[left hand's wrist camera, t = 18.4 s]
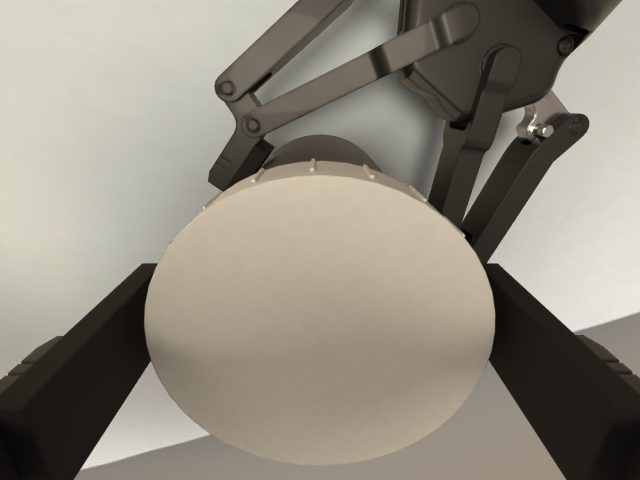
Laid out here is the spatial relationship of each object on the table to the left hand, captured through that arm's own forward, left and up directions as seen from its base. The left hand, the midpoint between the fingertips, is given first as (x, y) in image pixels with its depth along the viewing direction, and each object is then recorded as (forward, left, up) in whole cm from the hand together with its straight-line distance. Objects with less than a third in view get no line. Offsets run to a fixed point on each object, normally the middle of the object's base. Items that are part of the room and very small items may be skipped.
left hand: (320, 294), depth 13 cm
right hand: (-4, -2, -7) cm, 8 cm away
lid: (0, 0, +3) cm, 3 cm away
